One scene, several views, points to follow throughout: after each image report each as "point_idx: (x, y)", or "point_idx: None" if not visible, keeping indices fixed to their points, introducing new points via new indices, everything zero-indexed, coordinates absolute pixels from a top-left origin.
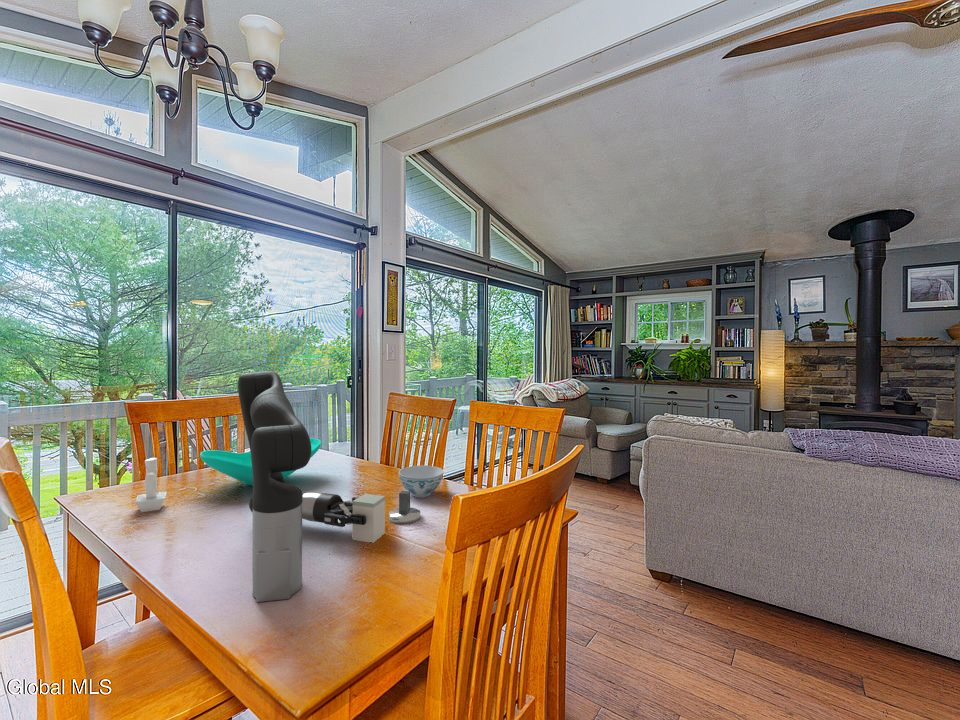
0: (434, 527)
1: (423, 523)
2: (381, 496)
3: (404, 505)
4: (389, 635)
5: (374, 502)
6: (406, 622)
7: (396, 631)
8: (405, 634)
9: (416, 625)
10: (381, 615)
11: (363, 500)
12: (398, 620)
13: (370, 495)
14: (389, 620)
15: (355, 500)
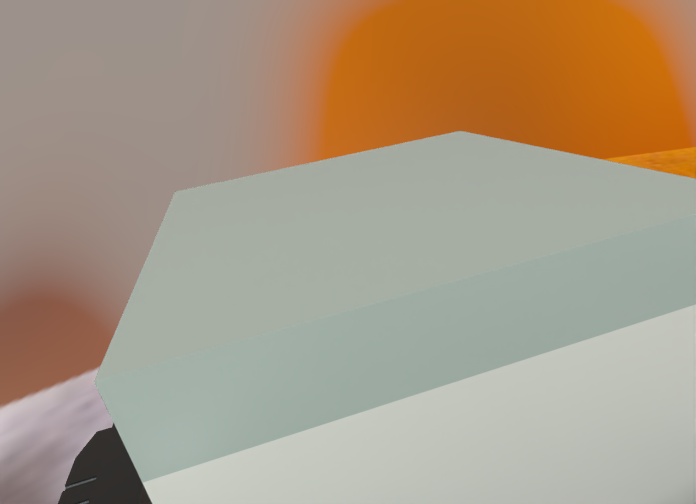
0: (88, 383)
1: (15, 459)
2: (199, 195)
3: None
4: (684, 154)
5: (428, 140)
6: (630, 162)
7: (664, 156)
8: (648, 153)
9: (614, 158)
10: (683, 175)
11: (506, 174)
12: (646, 166)
13: (210, 251)
14: (668, 168)
15: (675, 195)
